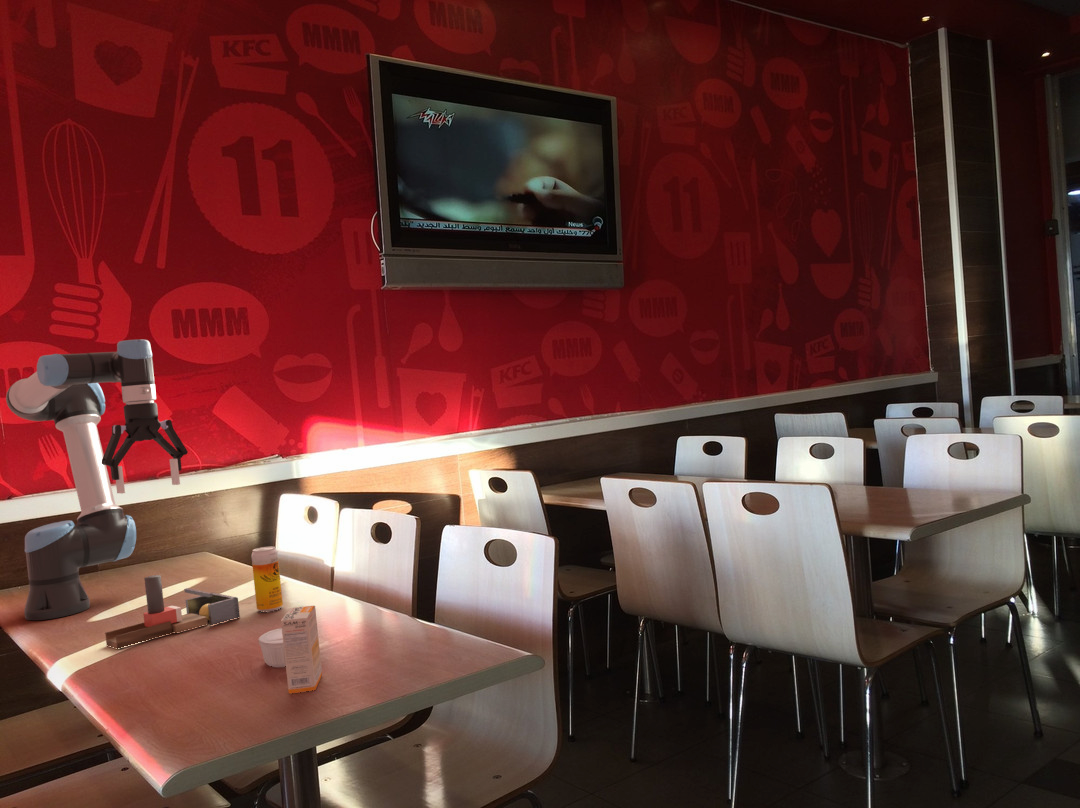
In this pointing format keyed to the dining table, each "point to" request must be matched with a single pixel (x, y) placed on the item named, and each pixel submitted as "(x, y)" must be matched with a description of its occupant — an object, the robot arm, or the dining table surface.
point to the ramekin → (273, 648)
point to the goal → (213, 605)
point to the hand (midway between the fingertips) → (149, 488)
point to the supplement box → (301, 649)
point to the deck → (189, 622)
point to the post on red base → (158, 604)
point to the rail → (136, 634)
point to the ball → (204, 611)
